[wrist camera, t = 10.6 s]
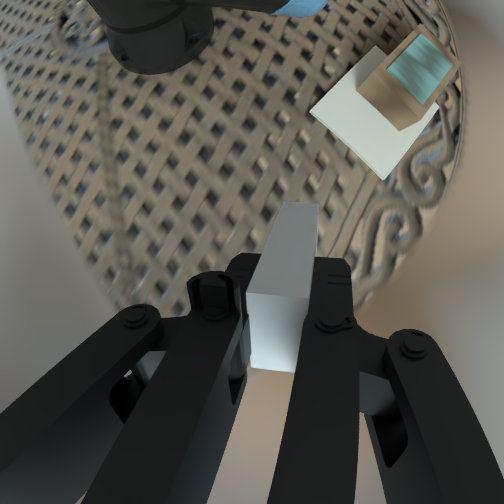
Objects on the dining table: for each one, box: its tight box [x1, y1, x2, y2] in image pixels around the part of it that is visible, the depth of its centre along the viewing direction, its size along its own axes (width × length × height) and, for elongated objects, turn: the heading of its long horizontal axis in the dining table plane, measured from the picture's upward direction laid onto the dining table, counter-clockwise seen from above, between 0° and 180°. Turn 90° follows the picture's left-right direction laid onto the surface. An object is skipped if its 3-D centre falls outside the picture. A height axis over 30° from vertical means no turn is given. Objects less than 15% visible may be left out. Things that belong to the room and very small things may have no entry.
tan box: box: [356, 23, 461, 131], centre depth 33 cm, size 8×6×14 cm
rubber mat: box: [310, 45, 439, 180], centre depth 37 cm, size 13×16×1 cm
